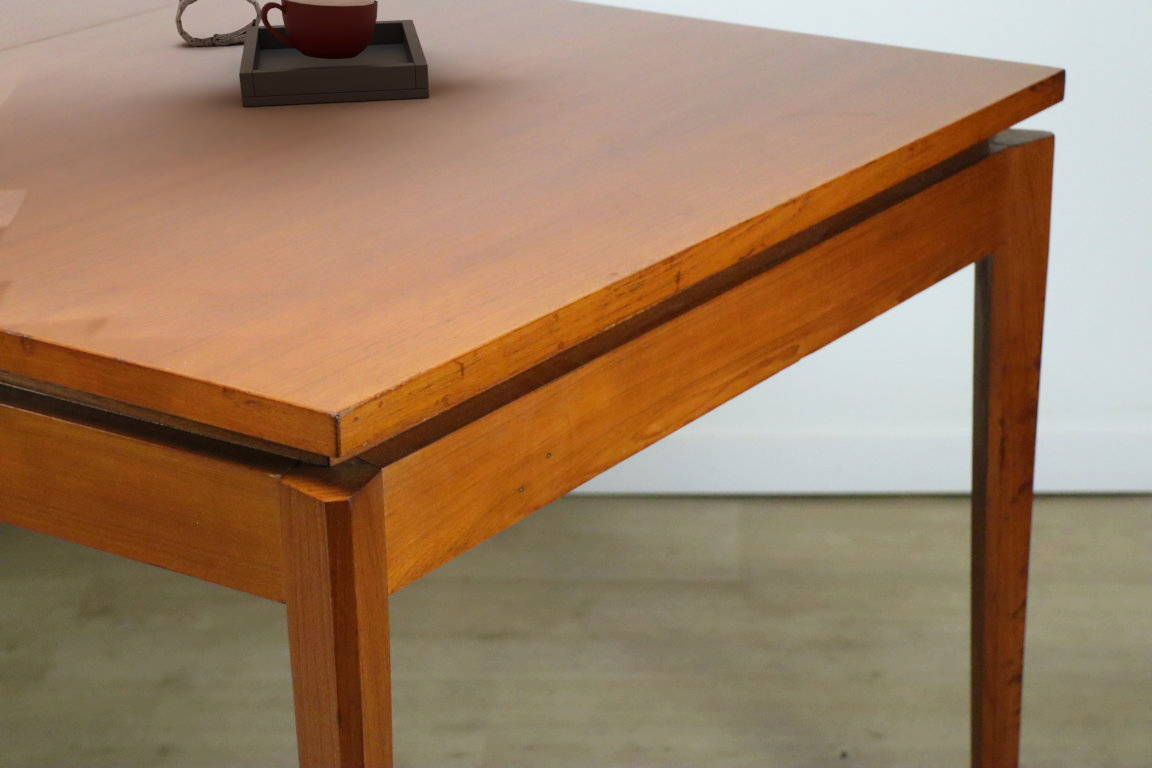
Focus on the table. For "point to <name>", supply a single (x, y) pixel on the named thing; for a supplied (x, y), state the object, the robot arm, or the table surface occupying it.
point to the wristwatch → (218, 38)
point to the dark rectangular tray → (333, 69)
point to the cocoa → (325, 26)
